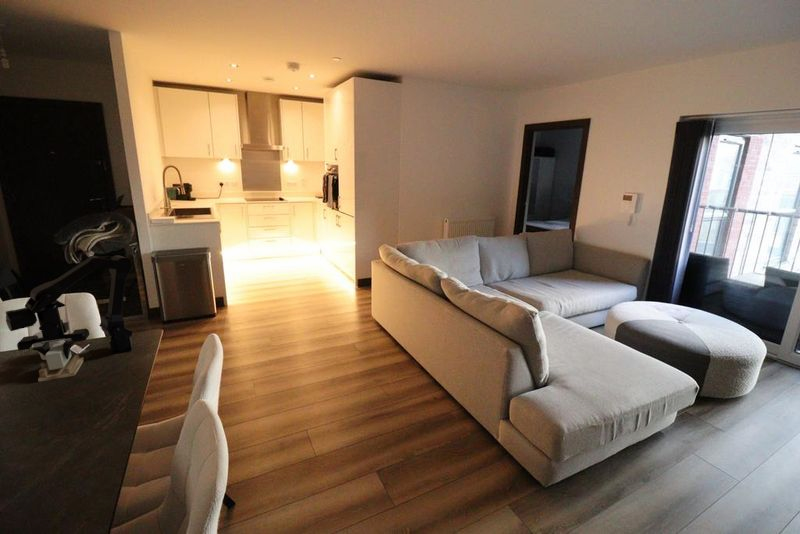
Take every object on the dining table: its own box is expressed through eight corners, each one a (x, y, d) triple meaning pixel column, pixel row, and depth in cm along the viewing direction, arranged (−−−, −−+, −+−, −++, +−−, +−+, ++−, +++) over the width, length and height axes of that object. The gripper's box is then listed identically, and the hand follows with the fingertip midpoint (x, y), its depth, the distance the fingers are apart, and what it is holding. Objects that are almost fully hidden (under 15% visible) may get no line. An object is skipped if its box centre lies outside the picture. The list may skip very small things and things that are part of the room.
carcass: (84, 359, 146) (80, 346, 144) (74, 375, 135) (71, 360, 134) (51, 365, 141) (47, 351, 140) (38, 381, 131) (34, 366, 129)
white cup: (44, 353, 150) (38, 330, 147) (68, 349, 153) (63, 327, 150) (35, 362, 143) (29, 338, 140) (61, 358, 146) (55, 335, 144)
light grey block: (71, 356, 142) (68, 341, 140) (63, 367, 134) (59, 352, 133) (57, 358, 140) (54, 344, 139) (49, 370, 133) (44, 355, 131)
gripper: (89, 309, 144) (97, 345, 148) (25, 316, 136) (35, 354, 140) (80, 319, 134) (89, 358, 138) (11, 328, 126) (22, 369, 130)
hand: (60, 359), depth 137 cm, fingers closed on light grey block, 4 cm apart
